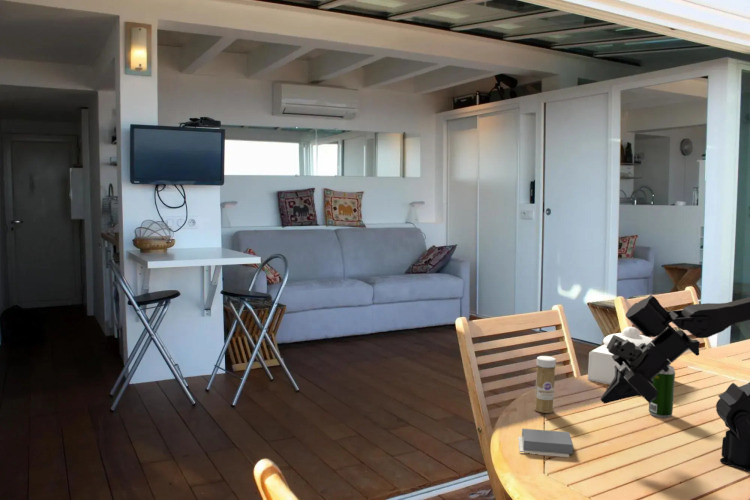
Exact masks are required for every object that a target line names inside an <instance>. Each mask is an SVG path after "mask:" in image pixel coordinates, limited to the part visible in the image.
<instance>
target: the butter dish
mask: <svg viewBox="0 0 750 500" xmlns="http://www.w3.org/2000/svg"><path fill="white" fill-rule="evenodd" d="M613 335H616V336H618V337H620V338H622V339H624V340H628V341H630V342H633V343H634V344H635V345H636V346H639V345H640V344H642V343H643V344H644V343H645V344H646V345H647V344H648V343H650V342H651V341H652V340H653V338H651V337H650V336H647V337H646V336H644V335H643V334H640V330H639V329H638V328H637V327H636V326H626V327H624V329H622V331H621V332H618V333H617V332H616V333H612V334H611V333H610V334H608V335H607V336H605V337H604V338H603V340H602V342H603V344H602V345H600V346H598V347H596V348H595V349H593V350H591V351H590V352H589V353H588V366H587V368H588V369H587V381H590V382H591V381H592V382H596V383H600V384H605V385H608V386H609V385H610V384H611V382H612V381H613V379H614V377H615V368H614V367H615V366H616V367H617V368H619V367H620V365H619V364H618V363H617V362H615V361H614V360H613V358H612V356H613V355H614V354H612V353H610V352H609V351H608V350H609V349H607V348H606V347H607V345H608V344H609V342H610V340H611V338H612V336H613ZM651 343H652V342H651ZM652 344H653V343H652ZM653 345H654V344H653ZM654 346H655V345H654ZM668 361H669V360H668ZM669 362H670V361H669ZM670 363H671V362H670ZM669 366H671V364H670V365H669Z"/></svg>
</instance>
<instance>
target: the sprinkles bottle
mask: <svg viewBox="0 0 750 500" xmlns="http://www.w3.org/2000/svg"><path fill="white" fill-rule="evenodd" d="M556 364H557V359H556V358H555V357H553V356H549V355H539V356H537V357H536V377H535V394H534V396H535V402H534V404H535V406H534V411H536V412H537V413H542V414H550V413H551V414H552V413H553V411H554V397H555V380H556V379H555V369H556V367H557V365H556Z"/></svg>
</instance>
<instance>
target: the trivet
mask: <svg viewBox="0 0 750 500" xmlns="http://www.w3.org/2000/svg"><path fill="white" fill-rule="evenodd" d="M517 440H519V442H518V450H519V451H520V452H524V453H530V454H529V455H535V454H538V456H546V457H548V456H549V457H550V456H552V457H561V458H570V454H566V453H554V452H542V451H530V450H523V443H522V436H518V437H517ZM520 452H519V453H520ZM524 453H523V454H524ZM531 453H532V454H531Z"/></svg>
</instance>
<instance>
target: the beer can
mask: <svg viewBox="0 0 750 500" xmlns="http://www.w3.org/2000/svg"><path fill="white" fill-rule="evenodd" d="M667 367H668V368H669V370H668V371H667V372H665V371H664V370H663V371H661V372H660V373H659V374H658V375H657V376H655V377H654V378H653V379H652V381H653V382H654V383H652V385H653V386H654V387H655V388H656V390H657V398H656V399H655V400H653V401H652V402H651V403H649V402H648V412H649V414H650V415H651V416H653V417H655V418H658V419H659V418H660V419H668V418H669V419H670V418H671V417H672V415H673V410H674V397H675V396H674V395H675V394H674V393H675V381H676V371H675V367H673V366H671V365H670V366H667Z"/></svg>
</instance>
